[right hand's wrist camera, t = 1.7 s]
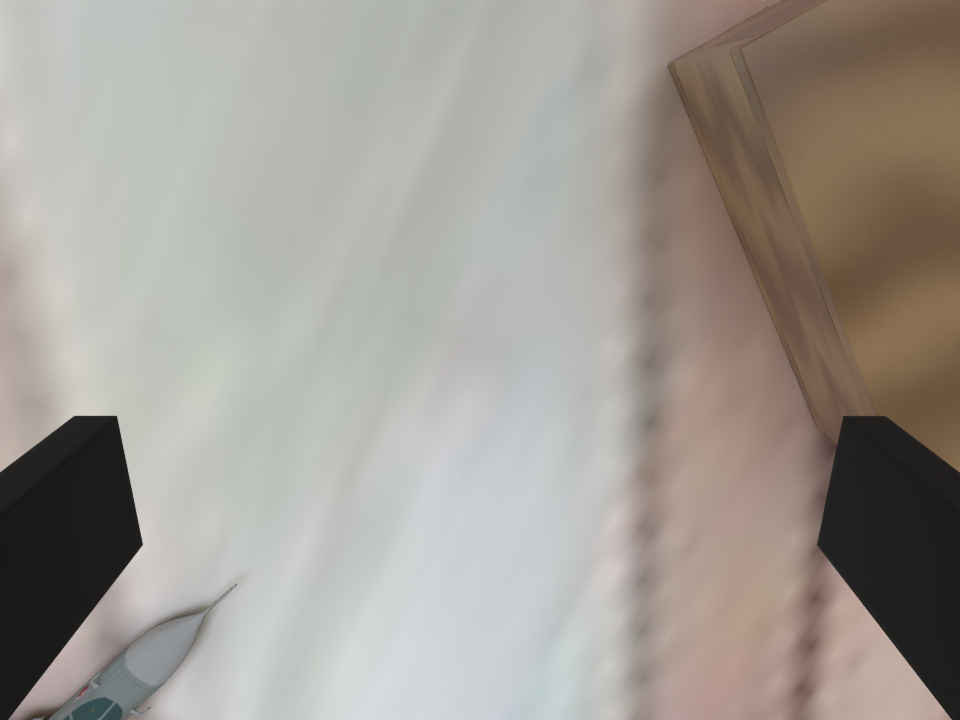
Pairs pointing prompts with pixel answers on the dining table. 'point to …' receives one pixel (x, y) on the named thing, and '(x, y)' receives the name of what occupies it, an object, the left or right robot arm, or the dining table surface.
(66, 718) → the airplane
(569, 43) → the dining table surface
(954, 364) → the wooden recessed-top box
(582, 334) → the dining table surface
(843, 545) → the right robot arm
